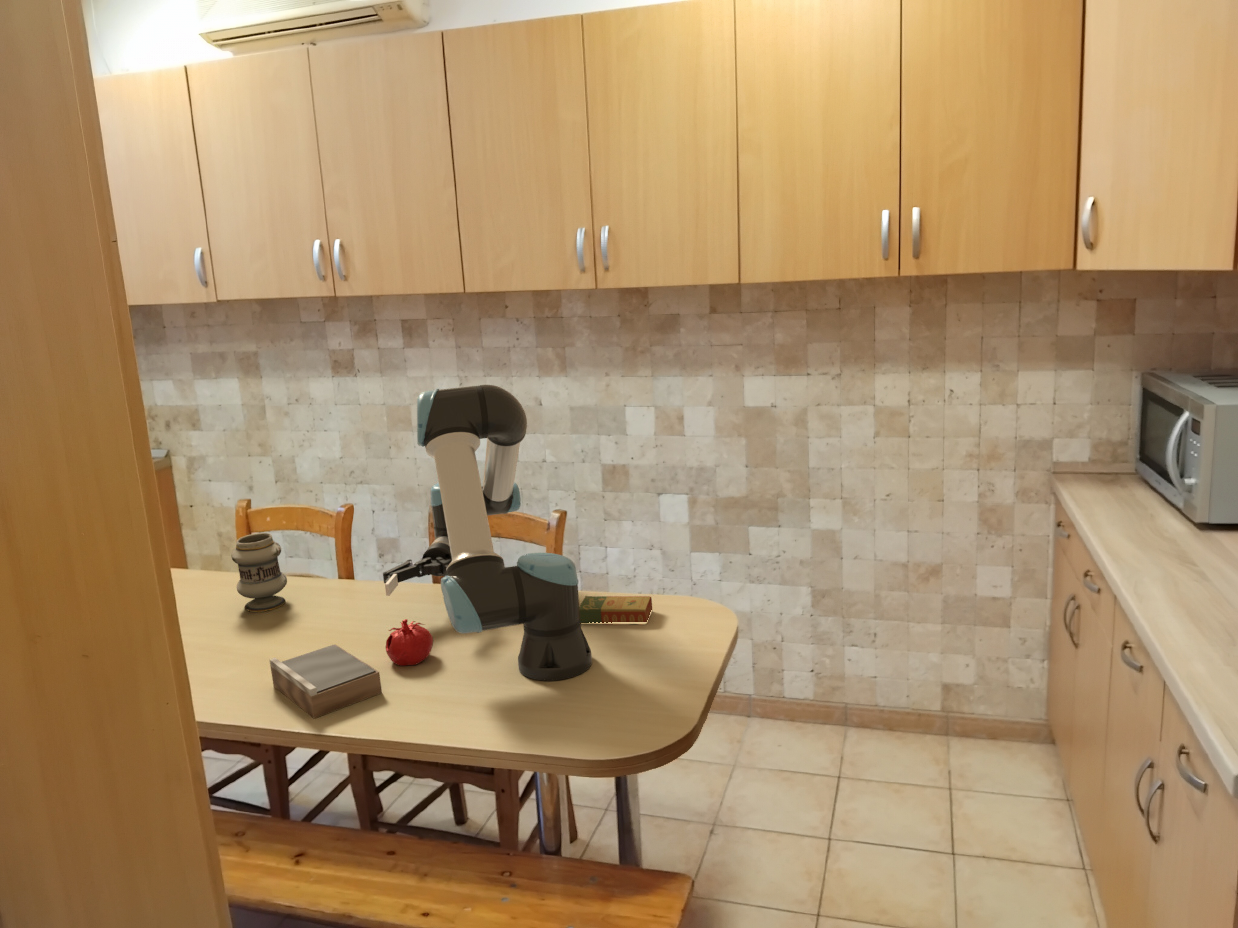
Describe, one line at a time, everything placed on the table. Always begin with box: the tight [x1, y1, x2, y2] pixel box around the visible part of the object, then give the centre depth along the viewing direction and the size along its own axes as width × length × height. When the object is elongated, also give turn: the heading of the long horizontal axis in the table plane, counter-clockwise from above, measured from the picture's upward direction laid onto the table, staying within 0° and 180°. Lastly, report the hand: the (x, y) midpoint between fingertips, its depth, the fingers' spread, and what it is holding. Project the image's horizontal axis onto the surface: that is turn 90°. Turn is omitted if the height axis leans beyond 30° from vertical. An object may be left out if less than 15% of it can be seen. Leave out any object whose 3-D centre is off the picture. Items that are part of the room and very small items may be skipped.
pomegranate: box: [385, 618, 434, 667], centre depth 201 cm, size 10×10×9 cm
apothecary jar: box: [230, 532, 288, 613], centre depth 238 cm, size 12×12×18 cm
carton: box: [579, 595, 653, 623], centre depth 217 cm, size 8×16×4 cm, turn 79°
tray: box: [269, 644, 383, 719], centre depth 189 cm, size 20×14×6 cm
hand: (417, 589), depth 209 cm, fingers open, 13 cm apart
